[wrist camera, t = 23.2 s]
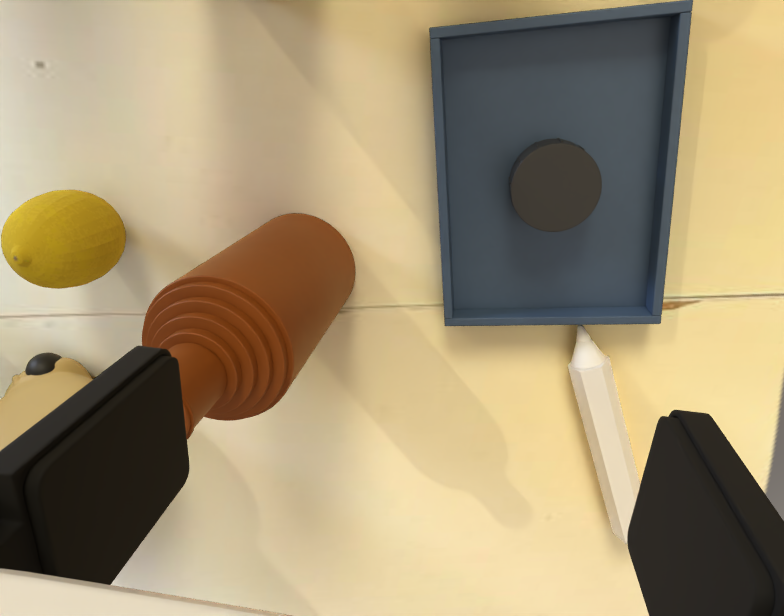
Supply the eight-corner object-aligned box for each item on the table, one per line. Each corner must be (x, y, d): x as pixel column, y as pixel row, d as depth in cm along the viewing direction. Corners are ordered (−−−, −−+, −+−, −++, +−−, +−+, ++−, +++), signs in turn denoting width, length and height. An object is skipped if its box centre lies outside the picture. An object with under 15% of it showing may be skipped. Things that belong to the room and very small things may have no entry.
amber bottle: (338, 333, 37) (224, 521, 21) (239, 296, 37) (53, 455, 21) (369, 236, 34) (264, 370, 18) (262, 197, 34) (67, 295, 18)
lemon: (80, 164, 35) (-27, 186, 28) (159, 204, 36) (73, 236, 28) (64, 240, 38) (-39, 278, 30) (139, 277, 38) (54, 324, 30)
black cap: (528, 126, 30) (532, 130, 27) (608, 155, 30) (618, 161, 27) (496, 204, 32) (497, 214, 29) (571, 232, 32) (577, 244, 29)
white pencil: (576, 307, 34) (631, 513, 39) (548, 322, 34) (607, 528, 39) (605, 316, 32) (660, 534, 37) (575, 331, 31) (634, 550, 36)
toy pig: (150, 342, 44) (-13, 318, 37) (182, 465, 36) (-16, 466, 29) (105, 426, 48) (-51, 420, 40) (125, 555, 40) (-63, 576, 33)
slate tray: (651, 310, 33) (660, 324, 31) (447, 313, 35) (444, 326, 33) (679, 4, 27) (693, -1, 25) (432, 30, 29) (429, 27, 27)
